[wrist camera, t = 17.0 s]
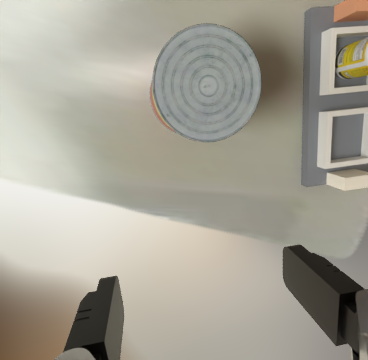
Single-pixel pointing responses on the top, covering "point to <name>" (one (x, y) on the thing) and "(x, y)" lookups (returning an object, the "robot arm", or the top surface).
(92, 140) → the top surface
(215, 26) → the canned food
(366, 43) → the supplement bottle
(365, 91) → the holder board
